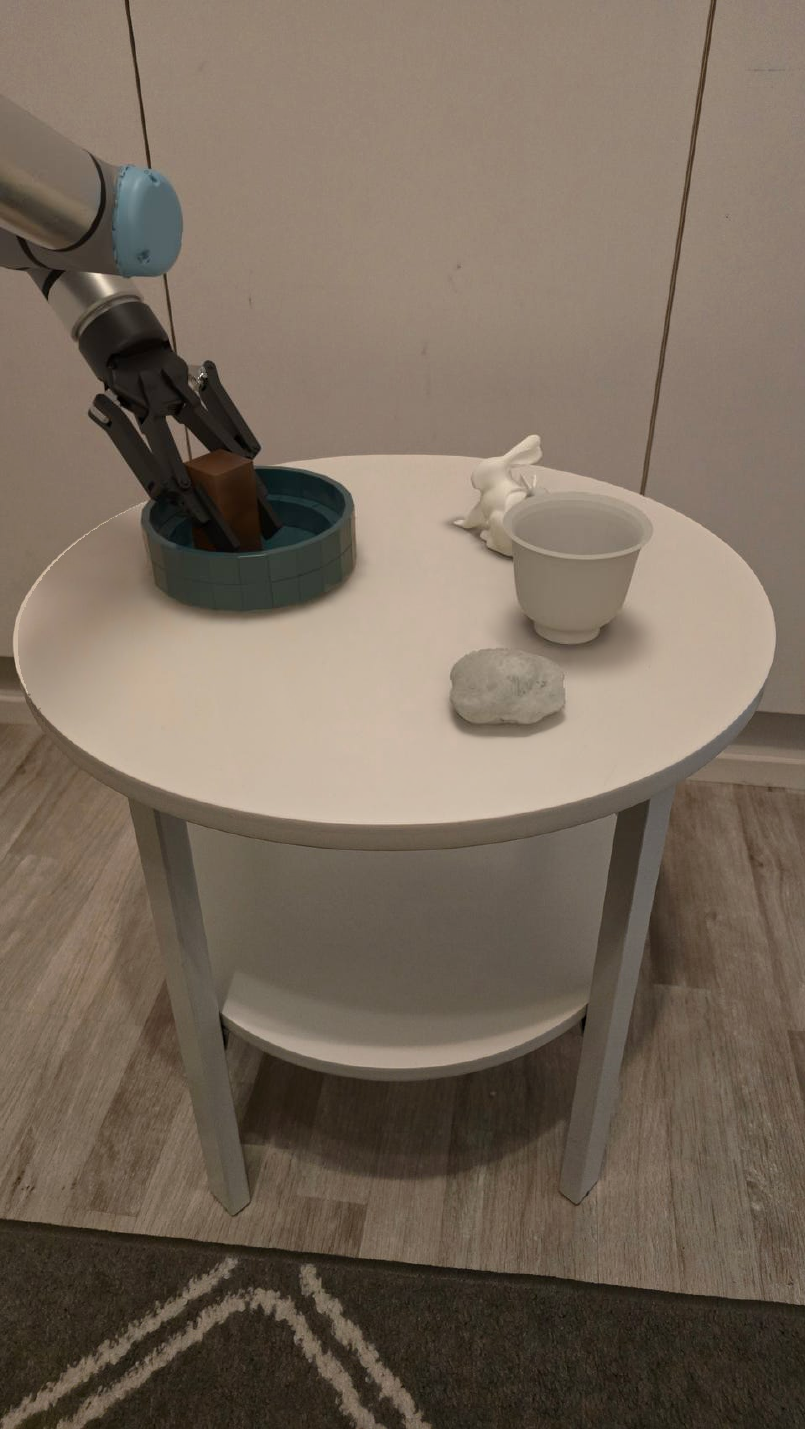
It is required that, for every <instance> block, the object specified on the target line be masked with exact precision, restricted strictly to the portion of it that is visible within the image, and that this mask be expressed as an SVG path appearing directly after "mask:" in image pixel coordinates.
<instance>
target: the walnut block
mask: <svg viewBox="0 0 805 1429" xmlns="http://www.w3.org/2000/svg"><path fill="white" fill-rule="evenodd" d="M183 463H184V466H185V468H186V471H187V473H188V476H189V478H190V481H191V488H192V489H193V487H194V486H196V485H198V484H202V486H203V487H204V489H205V490H206V492H207V493H208V495H209V496H210V498H211V500H212V501H213V503H214V504H215V506H216V507H217V509H218V510H219V512H220V513H221V515H222V516H223V518H224V519H225V521H226V522H227V524H228V525H229V527H230V528H231V530H232V532H233V533H234V535H235V536H236V538H237V539H238V541H239V542H240V544H241V546H240V547H239V549H238V550H237V551H236V552H235V553H246V552H258V551H262V541H261V532H260V523H259V513H258V504H257V494H256V484H255V474H254V466H255V465H254V459H253V460H250V459H247V458H244V457H242V456H239V455H236V454H233V453H231V452H228V451H225V450H222V449H218V450H215V451H213V452H207V453H205V454H202V455H200V456H197V457H195V458H192V459H190V460H187V461H183ZM191 528H192V534H193V541H194V548H195V549H197V550H203V551H208V552H217V551H216V549H215V548H214V546H213V544H212V543H211V541H210V540H209V538H208V537H207V535H206V534H205V532H204V531H203V529H202V528H201V529H198V530H197V529H196V528H194V527H193V526H192V524H191Z"/></svg>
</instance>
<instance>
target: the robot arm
mask: <svg viewBox="0 0 805 1429" xmlns="http://www.w3.org/2000/svg"><path fill="white" fill-rule="evenodd" d="M183 233H184V218H183V211H182V206H181V202H180V199H179V196H178V194H177V192H176V189H175V188H174V187H173V185H172V183H171V182H170V179H168V178H167V177H166V175H165V174H163V173H161V172H160V171H157V170H156V169H152V168H146V167H139V166H135V165H134V164H133V163H132V164H124V165H114V164H111V163H108V162H107V161H104V160H103V159H101V158H99V157H98V156H96V155H94V154H93V153H92V152H90V151H88V150H87V149H85V148H83V147H82V146H81V145H80V144H78V143H76V142H75V141H74V140H72V139H71V138H69V137H68V136H66V135H65V134H64V133H62V132H60V131H59V130H58V129H56V128H54V127H53V126H51V125H50V124H49V123H47V122H45V121H44V120H43V119H41V118H40V117H38V116H37V115H35V114H34V113H32V112H31V111H29V110H28V109H26V108H25V107H24V106H22V105H20V104H18V102H16V101H14V100H13V99H11V97H9V96H7V95H5V94H4V93H3V92H1V91H0V268H4V269H6V270H12V271H19V272H24V273H27V274H28V275H29V276H30V278H31V280H32V281H33V283H34V284H35V286H36V287H37V288H38V290H39V291H40V292H41V294H42V296H43V297H44V299H45V300H46V302H47V303H48V305H49V307H51V309H52V311H53V312H54V313H55V315H56V317H57V318H58V321H59V322H60V323H61V325H62V326H63V327H64V329H65V330H66V332H67V333H68V335H69V337H70V338H71V339H72V341H73V342H74V343H76V344H77V347H78V348H77V349H78V352H79V353H80V354H81V356H82V358H83V359H84V360H85V362H86V364H87V365H88V367H89V369H91V371H92V373H93V375H94V376H95V377H96V379H97V380H98V381H99V382H101V383H102V384H103V389H104V392H103V393H97V394H96V395H95V397H94V398H93V401H92V402H91V404H90V407H89V409H88V410H87V416H88V417H89V419H90V420H92V422H94V423H95V425H97V426H99V427H100V428H101V429H102V430H103V431H104V432H105V433H106V434H107V435H108V437H109V439H110V440H111V442H112V443H113V445H114V446H115V447H116V449H117V451H118V452H119V454H120V455H121V456H122V458H123V460H124V461H125V462H126V464H127V466H128V467H129V469H130V471H131V472H132V474H134V477H135V478H136V479H137V481H138V482H139V484H140V485H141V487H142V489H143V490H144V491H145V492H146V494H147V495H148V498H149V499H150V498H151V499H152V500H153V501H160V500H161V499H167V501H168V503H170V504H171V505H176V504H178V505H179V506H180V508H181V509H182V511H183V512H184V514H185V515H186V516H187V518H188V520H189V521H190V523H191V524H192V526H193V527H194V528H196V529H197V530H198V529H201V528H202V529H203V531H204V532H205V534H206V535H207V537H208V538H209V540H210V541H211V543H212V544H213V546H214V548H215V549H216V551H217V552H226V553H235V552H236V551H237V550H238V549H239V547H240V546H241V544H240V542H239V541H238V539H237V538H236V536H235V535H234V533H233V532H232V530H231V528H230V527H229V525H228V524H227V522H226V521H225V519H224V518H223V516H222V515H221V513H220V512H219V510H218V509H217V507H216V506H215V504H214V503H213V501H212V500H211V498H210V496H209V495H208V493H207V492H206V490H205V489H204V487H203V486H202V484H198V485H196V486H194V487H193V489H192V488H191V481H190V478H189V476H188V473H187V471H186V468H185V466H184V460H183V458H182V456H181V453H180V451H179V449H178V446H177V443H176V440H175V439H174V436H173V434H172V431H171V428H170V426H169V423H168V421H167V417H170V416H171V417H172V418H173V419H174V420H175V422H177V423H178V424H179V425H184V426H185V427H186V428H187V429H188V430H189V431H190V432H191V434H192V435H193V436H194V437H195V438H196V439H197V440H198V441H199V442H200V443H201V444H202V446H204V448H206V450H207V451H208V453H210V452H213V451H215V450H218V449H222V450H225V451H228V452H231V453H233V454H236V455H239V456H242V457H244V458H247V459H250V460H253V461H254V459H255V458H256V457H257V456H258V455H259V453H260V452H261V451H262V446H261V444H260V442H259V441H258V439H257V437H256V436H255V434H254V433H253V431H252V430H251V428H250V427H249V424H248V423H247V421H246V420H245V419H244V417H243V415H242V413H241V412H240V411H239V409H238V408H237V406H236V405H235V403H234V401H233V400H232V398H231V397H230V395H229V393H228V392H227V390H226V388H225V386H223V384H222V382H221V380H220V376H219V372H218V368H217V366H216V363H215V362H214V361H212V360H210V359H205V361H204V362H203V364H202V365H196V364H195V365H194V364H188V363H187V362H186V360H184V358H182V357H181V356H179V355H178V354H177V353H176V351H174V349H173V348H172V345H171V342H170V337H169V335H168V333H167V331H166V329H165V328H164V326H163V325H162V324H161V322H160V321H159V319H158V317H157V316H156V314H155V313H154V311H153V310H152V308H151V306H150V305H149V304H147V303H145V298H144V294H143V293H142V292H141V290H140V289H139V287H138V286H137V285H136V283H135V281H134V279H133V278H134V277H135V278H136V277H137V278H140V277H141V278H158V277H161V276H163V275H165V274H166V273H168V272H169V271H170V270H171V269H172V268H173V267H174V265H175V264H176V262H177V261H178V258H179V256H180V253H181V249H182V246H183V245H182V240H183ZM132 277H133V278H132ZM189 382H190V384H191V385H192V386H190V384H189ZM122 408H123V409H125V410H126V411H128V412H130V413H131V414H132V415H133V416H134V419H135V421H136V423H137V427H138V428H139V431H140V433H141V434H140V433H139V431H138V430H137V429H136V427H135V425H134V424H133V422H132V420H130V418H129V417H128V414H127V413H125V411H124V410H123V409H122ZM141 435H143V436H145V438H146V442H147V443H146V442H145V441H144V439H143V437H142V436H141ZM254 474H255V484H256V494H257V504H258V513H259V523H260V532H261V535H262V536H263V538H264V539H265V541H267V540H269V539H271V538H272V537H273V536H274V535H275V534H276V533H277V532H278V531H279V530H280V529H281V528H282V527H283V526H284V525H283V523H282V522H281V520H280V519H279V517H278V516H277V514H276V512H275V511H274V509H273V508H272V506H271V505H270V503H269V502H268V500H267V499H266V496H267V495H268V491H267V489H266V487H265V485H264V484H263V482H262V481H261V479H260V478H259V476H258V475H257V473H256V472H255V470H254Z"/></svg>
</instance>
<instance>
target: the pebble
mask: <svg viewBox="0 0 805 1429" xmlns="http://www.w3.org/2000/svg"><path fill="white" fill-rule="evenodd" d="M449 679H450V680H451V687H450V691H449V695H450V700H451V702H452V705H453V706H454V710H455V711H456V713H457V714H458V715H460V717H462V718H463V719H464V720H466V721H467V722H470V723H472V724H475V725H477V724H493V725H497V724H505V723H510V724H519V725H530V724H531V725H532V724H535V723H537V722H539V721H540V720H542V719H544V718H545V717H547V716H550V715H553V714H555V713H557V712H558V711H560V710H561V709H563V708H564V707H565V705H566V702H567V701H566V688H565V687H564V679H565V674H564V672H563V671H562V669H561V668H560V666H558V664H557V663H556V662H554V661H553V660H551V659H549V658H547V657H545V656H542V655H537V654H535V653H530V652H525V651H522V650H521V649H512V648H508V647H494V648H481V649H478V650H473V651H471V652H469V653H468V654H465V655H464V656H462V657H461V658H459V659H458V660H457V661H456V662H455V663H454V664H453V666H452V668H451V670H450V673H449Z"/></svg>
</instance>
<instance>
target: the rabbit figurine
mask: <svg viewBox="0 0 805 1429" xmlns="http://www.w3.org/2000/svg"><path fill="white" fill-rule="evenodd" d="M541 441H542V440H541V437H540V435H537V434H531V435H528V436H526V438H524V439H523V440H522V441H520V442H519V443H517V444H516V445H515V446H514V447H512V448H511V449H510V450H508V451H507V452H506V453H505V454H503V455H502V456H492V457H488V458H485V459H483V460H482V461H481V462H479V463H478V464H477V466H476V467H475V468H474V470H473V471H472V473H471V476H470V480H471V485H472V488H474V489H475V490H478V491H479V492H480V496H479V501H478V502H477V503H476V505H474V507H473V509H471V511H470V512H469V513H468V515H467V516H466V517H465V519H456V520H455V521H453V522H452V523H453V524H454V525H455V526H458V527H462V528H463V529H472V528H476V527H479V526H480V525H482V524H483V523H485V522H486V521H487V522H488V529H487V528H486V529H483V530H482V531H481V532H480V535H479V538H480V539H482V540H483V541H485V542H486V547H487V548H489V549H491V550H493V551H496V552H497V553H500V554H502V555H504V556H507V557H513V550H512V542H511V538H510V537H509V536H508V534H507V533H506V532H505V530H504V528H503V518H504V516H505V514H506V513H507V511H508V510H509V509H510V508H511V507H513V506H514V505H515V504H517V503H518V502H520V501H522V500H524V499H525V497H526V494H527V492H528V491H529V490H530V489H531V488H533V487H538V485H537V484H538V479H537V475H536V474H535V473H534V474H532V475H531V478H532V482H531V484H530V483H529V481H528V480H527V479H526V478H525V477H524V475H523V474H522V473H521V474H519V477H518V479H519V481H518V480H516V479H515V478H514V477H513V475H512V469H517V468H520V467H526V466H530V465H533V464H536V463H537V462H539V460H540V458H542V457H543V452H542V449H541V447H540V445H541Z"/></svg>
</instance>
